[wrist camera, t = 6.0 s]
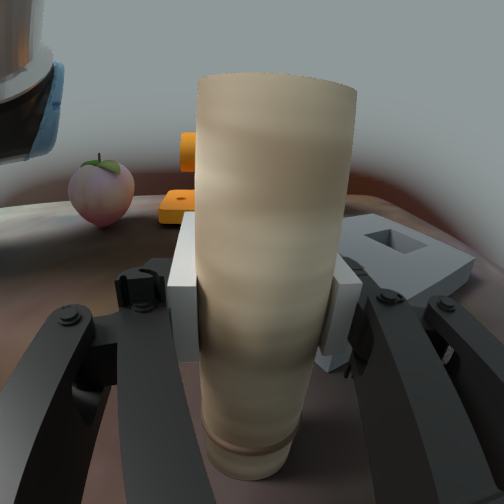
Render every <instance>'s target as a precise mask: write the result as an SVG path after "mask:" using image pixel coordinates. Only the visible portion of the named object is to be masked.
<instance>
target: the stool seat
mask: <svg viewBox="0 0 504 504" xmlns="http://www.w3.org/2000/svg"><path fill="white" fill-rule="evenodd" d="M337 253H338V254H339V255H340V256H341V257H349V258H351V259H353V260H354V261H356V262H358V263H359V264H360V265H361V267H362V268H363V269H364V270H365V271H366V272H367V273H368V276H370V277H371V278H372V279H373V280H374V281H375V282H376V283H377V285H378V286H379V287H380V288H385V289H391V290H393V291H396V292H398V293H400V294H401V295H403V296H404V297H405V298H406V299H407V301H408V303H409V304H410V306H415V307H423V308H426V306H427V303H428V300H429V298H430V297H432V296H435V295H444V296H449V295H451V294H452V293H453V292H455V291H456V290H457V289H458V288H460V287H461V286H462V285H464V284H465V283H466V282H467V281H468V279H469V276H470V273H471V270H472V267H473V264H474V260H475V258H474V257H472V256H470V255H468V254H466V253H464V252H462V251H460V250H457V249H455V248H453V247H451V246H449V245H447V244H444V243H442V242H440V241H438V240H435V239H433V238H431V237H429V236H426V235H424V234H422V233H419V232H417V231H415V230H412V229H410V228H408V227H405V226H403V225H401V224H398V223H396V222H393V221H391V220H388V219H386V218H383V217H381V216H378V215H376V214H367V215H360V216H353V217H347V218H343V221H342V228H341V234H340V240H339V246H338V251H337ZM352 349H353V348H352V347H351V345H350V343H349V341H347V345H346V348H345V351H344V354H340V355H330V356H322V354H321V351H320V349H319V347H318V349H317V353H316V357H315V361H314V362H315V363H316V364H317V365H319V366H320V367H321V368H322V369H323V370H324V371H325V372H327V373H329V372H330V371H332V370H334V369H336V368H338V367H339V366H341V365H343V364H345V363H347V362H348V361H349V358H350V355H351V352H352Z"/></svg>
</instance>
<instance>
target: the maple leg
mask: <svg viewBox="0 0 504 504" xmlns="http://www.w3.org/2000/svg"><path fill="white" fill-rule="evenodd" d="M356 101H357V91H356V90H355V89H353V88H351V87H348V86H345V85H343V84H339V83H335V82H331V81H327V80H322V79H317V78H312V77H305V76H298V75H290V74H278V73H256V72H255V73H254V72H245V73H225V74H216V75H210V76H205V77H202V78H200V79H199V81H198V99H197V121H196V151H195V270H196V274H197V304H198V329H199V365H200V380H201V393H202V403H201V421H202V425H203V428H204V430H205V439H206V449H207V454H208V457H209V459H210V461H211V463H212V464H213V465H214V467H215V468H216V469H217V470H219V471H220V472H221V473H223V474H225V475H226V476H229V477H231V478H234V479H238V480H244V481H254V480H260V479H264V478H267V477H269V476H271V475H273V474H274V473H276V472H277V471H278V470H279V469H280V468H281V467H282V466H283V465H284V463H285V462H286V460H287V457H288V454H289V451H290V447H291V444H292V441H293V438H294V437H295V435H296V434H297V432H298V429H299V426H300V423H301V419H302V407H303V403H304V400H305V396H306V392H307V388H308V385H309V381H310V377H311V373H312V369H313V365H314V361H315V357H316V353H317V349H318V344H319V340H320V336H321V331H322V327H323V322H324V318H325V313H326V309H327V304H328V299H329V294H330V289H331V284H332V279H333V273H334V268H335V263H336V257H337V251H338V246H339V240H340V234H341V228H342V221H343V215H344V208H345V201H346V194H347V187H348V178H349V171H350V163H351V154H352V145H353V135H354V124H355V113H356Z"/></svg>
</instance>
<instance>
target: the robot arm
mask: <svg viewBox="0 0 504 504" xmlns="http://www.w3.org/2000/svg"><path fill="white" fill-rule="evenodd" d="M44 3H45V0H0V165H3V164H8V163H14V162H19V161H27V160H29V159H30V158H33V157H38V156H42V155H45V154H47V153H49V152H50V151H51V150H52V148H53V147H54V145H55V142H56V138H57V131H58V125H59V118H60V105H61V99H62V92H63V83H64V65H63V64H62V63H60V62H56V61H53V54H52V51H51V49H50V47H49V46H48V45H47V44H45V43H43V42H42V41H41V33H42V21H43V11H44ZM114 281H115V287H116V293H117V299H118V305H119V311H118V312H116V313H114V314H110V315H106V316H100V317H94V318H93V317H92V313H91V311H90V309H88V308H87V307H85V306H82V305H78V304H76V305H67V306H62V307H60V308H59V309H57V310H55V311H54V312H53V313H52V314H51V315H50V316H49V317H48V318H47V320H46V321H45V323H44V324H43V326H42V327H41V329H40V330H39V332H38V333H37V335H36V336H35V338H34V339H33V341H32V342H31V344H30V345H29V347H28V348H27V350H26V352H25V353H24V355H23V356H22V358H21V360H20V361H19V363H18V365H17V366H16V368H15V370H14V371H13V373H12V375H11V376H10V378H9V380H8V381H7V383H6V385H5V387H4V388H3V390H2V392H1V394H0V504H81V501H82V496H83V492H84V487H85V482H86V478H87V474H88V470H89V466H90V461H91V457H92V453H93V450H94V446H95V442H96V438H97V435H98V431H99V427H100V424H101V420H102V417H103V413H104V410H105V407H106V403H107V400H108V397H109V393H110V390H111V385H117V393H118V419H119V435H120V448H121V459H122V469H123V477H124V485H125V493H126V500H127V504H216V501H215V498H214V495H213V492H212V489H211V486H210V483H209V479H208V476H207V473H206V470H205V466H204V463H203V460H202V456H201V453H200V449H199V446H198V442H197V439H196V435H195V431H194V428H193V424H192V420H191V416H190V412H189V408H188V404H187V400H186V396H185V392H184V387H183V383H182V379H181V374H180V370H179V365H178V362H199V329H198V304H197V274H196V270H195V212H184V216H183V220H182V224H181V228H180V232H179V236H178V240H177V245H176V249H175V253H174V257H173V258H151V259H150V260H148V261H147V262H146V263H145V264H144V265H143V267H135V268H130V269H127V270H125V271H122V272H121V273H120V274H118V275H117V276H116V278H115V280H114ZM347 341H349V343H350V345H351V347H352V348H353V349H352V352H351V355H350V358H349V361H348V364H347V367H346V370H345V373H344V378H347V377H348V374H349V372H350V371H351V370H352V378H353V379H354V384H355V388H356V393H357V398H358V402H359V407H360V412H361V417H362V422H363V427H364V432H365V438H366V443H367V448H368V454H369V460H370V466H371V472H372V478H373V484H374V491H375V498H376V504H504V345H503V344H502V343H501V342H500V341H499V340H498V339H497V338H496V337H495V336H494V335H492V334H491V333H490V332H489V331H488V330H487V329H486V328H485V327H484V326H483V325H482V324H481V323H480V322H479V321H478V320H477V319H476V318H475V317H473V316H472V315H471V314H470V313H469V312H468V311H467V310H466V309H465V308H464V307H462V306H461V305H460V304H459V303H458V302H456V301H455V300H453V299H451V298H450V297H448V296H444V295H435V296H432V297H430V298H429V300H428V303H427V306H426V308H423V307H415V306H410V304H409V303H408V301H407V299H406V298H405V297H404V296H403V295H401V294H400V293H398V292H396V291H393V290H391V289H385V288H380V287H379V286H378V285H377V283H376V282H375V281H374V280H373V279H372V278H371V277H370V276H368V273H367V272H366V271H365V270H364V269H363V268H362V267H361V265H360V264H359V263H358V262H356V261H354V260H353V259H351V258H349V257H341V256H340V255H339V254H338V253H337V257H336V263H335V268H334V273H333V279H332V284H331V289H330V294H329V299H328V304H327V309H326V313H325V318H324V322H323V327H322V331H321V336H320V340H319V344H318V347H319V349H320V351H321V354H322V356H330V355H340V354H344V351H345V348H346V345H347ZM449 345H450V346H451V347H452V348H453V349H454V350H455V351H454V353H453V355H452V357H451V359H450V361H449V362H448V363H447V362H445V361H444V360H443V357H444V355H445V352H446V350H447V348H448V346H449Z"/></svg>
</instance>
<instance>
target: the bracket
mask: <svg viewBox="0 0 504 504" xmlns="http://www.w3.org/2000/svg"><path fill="white" fill-rule="evenodd" d="M195 151H196V133H182V136H181V143H180V168H181V171H195ZM158 210H159V222H160V223H163V224H182V220H183V216H184V212H195V190H171V191H169V192H168V193H167V195H166V196H165V198H164V199H163V201H162V203H161V204H160V206H159V207H158Z"/></svg>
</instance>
